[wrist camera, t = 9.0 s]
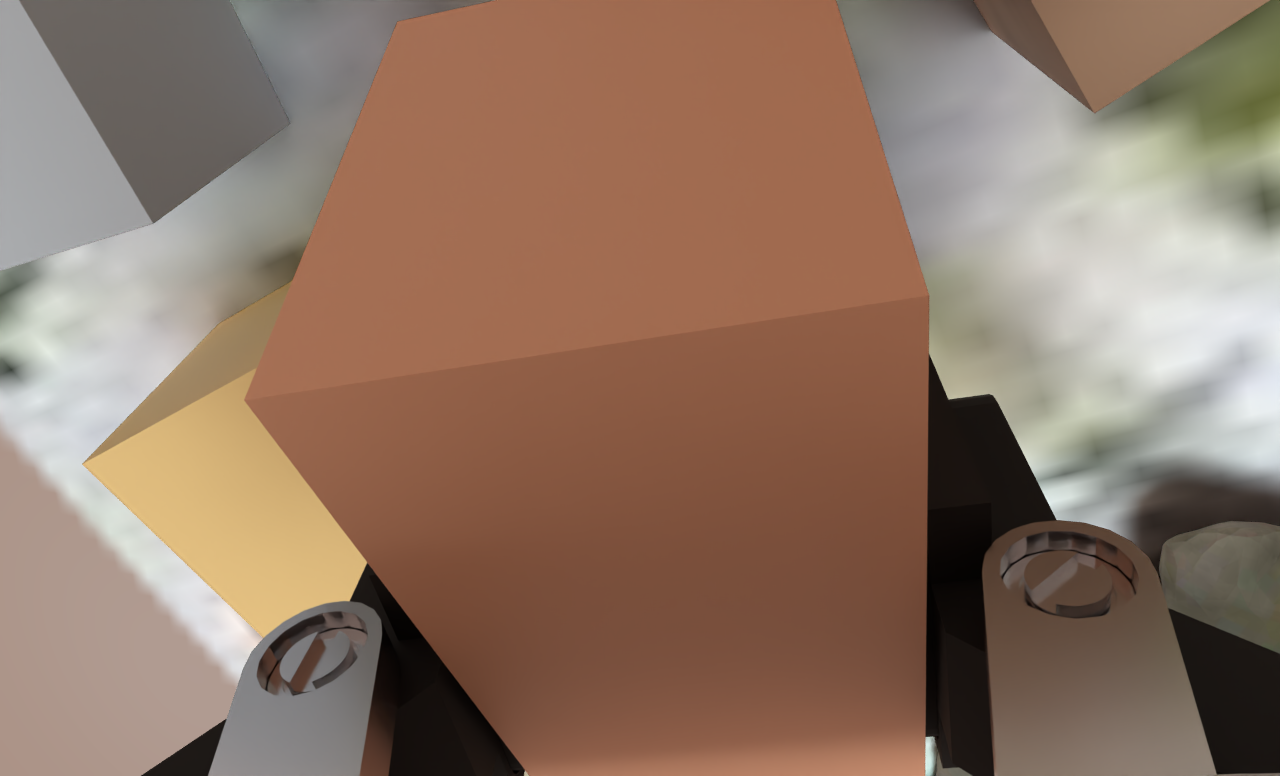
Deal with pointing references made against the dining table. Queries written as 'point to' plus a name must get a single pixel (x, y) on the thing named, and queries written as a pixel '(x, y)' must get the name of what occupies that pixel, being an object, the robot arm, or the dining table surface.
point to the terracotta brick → (628, 384)
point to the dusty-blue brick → (119, 115)
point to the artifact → (1220, 583)
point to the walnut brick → (1107, 38)
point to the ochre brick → (229, 482)
